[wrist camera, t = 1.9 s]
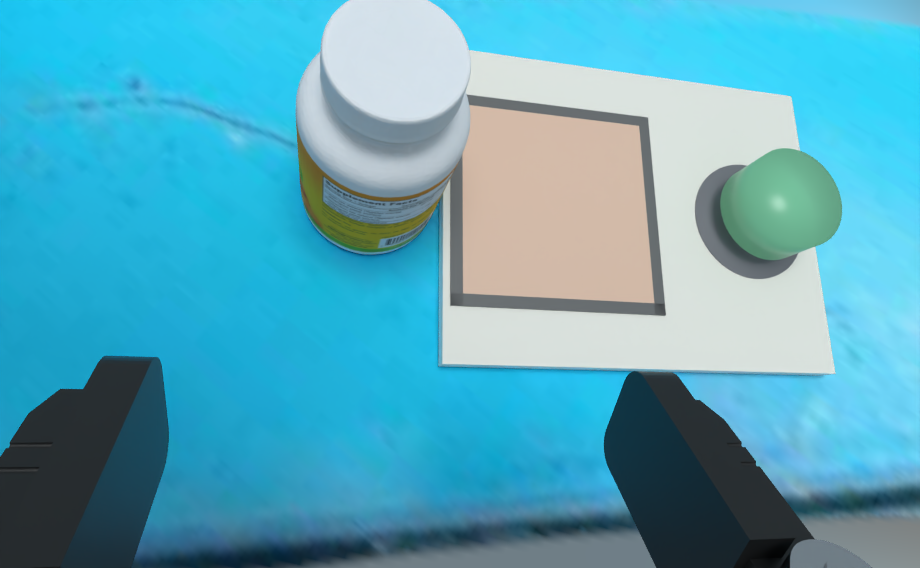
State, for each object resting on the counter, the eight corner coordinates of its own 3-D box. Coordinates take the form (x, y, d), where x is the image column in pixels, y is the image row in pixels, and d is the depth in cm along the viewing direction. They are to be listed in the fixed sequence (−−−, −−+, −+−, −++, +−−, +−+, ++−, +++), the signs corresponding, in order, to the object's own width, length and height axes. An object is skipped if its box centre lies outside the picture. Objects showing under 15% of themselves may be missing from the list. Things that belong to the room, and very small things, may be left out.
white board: (438, 366, 24) (442, 363, 23) (440, 57, 27) (444, 45, 26) (821, 375, 28) (837, 373, 27) (779, 104, 31) (792, 95, 30)
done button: (726, 257, 26) (758, 242, 24) (715, 163, 27) (745, 142, 25) (812, 263, 27) (849, 250, 25) (798, 172, 28) (832, 153, 26)
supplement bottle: (325, 118, 25) (329, -65, 16) (446, 160, 26) (516, 9, 17) (282, 233, 24) (260, 102, 14) (412, 274, 24) (469, 175, 15)
